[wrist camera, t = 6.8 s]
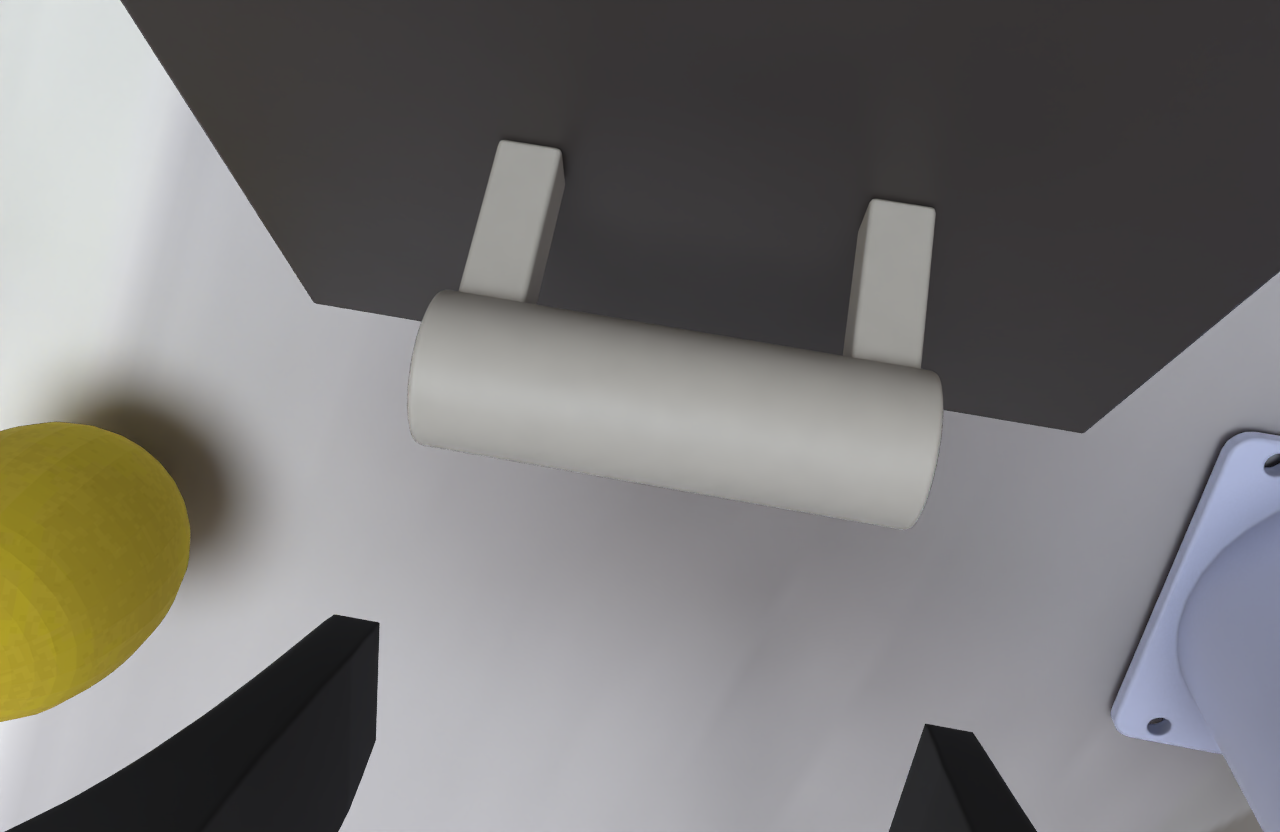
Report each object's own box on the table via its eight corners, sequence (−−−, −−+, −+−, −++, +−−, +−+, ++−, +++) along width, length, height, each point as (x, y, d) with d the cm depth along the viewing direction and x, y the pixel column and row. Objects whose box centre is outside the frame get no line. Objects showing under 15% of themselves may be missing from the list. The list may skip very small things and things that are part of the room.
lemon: (270, 569, 26) (79, 810, 19) (70, 565, 27) (-186, 797, 20) (220, 366, 24) (-20, 555, 17) (2, 369, 25) (-314, 551, 18)
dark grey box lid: (-348, -914, 5) (-920, -370, 4) (2226, -646, 5) (2694, 141, 3) (326, 265, 17) (246, 510, 15) (1085, 392, 16) (1075, 660, 15)
